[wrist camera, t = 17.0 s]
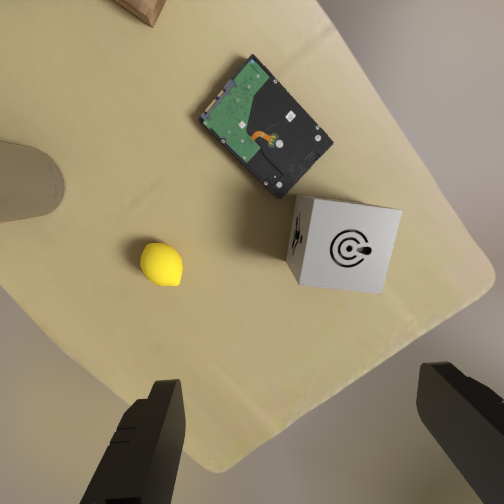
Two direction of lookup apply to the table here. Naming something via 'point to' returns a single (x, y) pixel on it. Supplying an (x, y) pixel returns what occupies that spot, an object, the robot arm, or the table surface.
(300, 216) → the icon cube
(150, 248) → the lemon
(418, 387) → the robot arm
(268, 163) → the disk drive
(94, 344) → the table surface
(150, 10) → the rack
